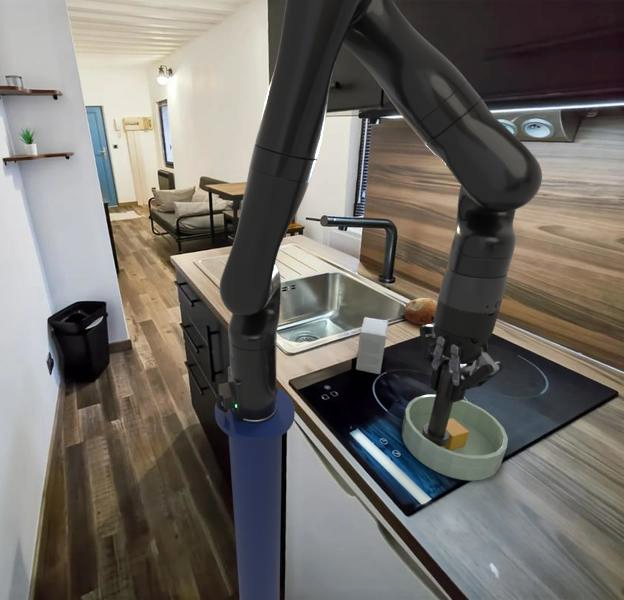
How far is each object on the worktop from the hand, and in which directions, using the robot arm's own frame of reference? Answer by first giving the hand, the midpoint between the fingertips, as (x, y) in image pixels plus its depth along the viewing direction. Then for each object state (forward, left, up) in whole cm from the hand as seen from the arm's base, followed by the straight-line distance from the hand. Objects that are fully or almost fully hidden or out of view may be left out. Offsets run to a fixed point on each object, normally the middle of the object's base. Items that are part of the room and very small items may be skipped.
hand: (445, 394), depth 59 cm
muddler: (0, 0, -10) cm, 10 cm away
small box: (+6, +26, -13) cm, 30 cm away
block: (+4, 0, -12) cm, 12 cm away
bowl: (+4, 0, -12) cm, 13 cm away
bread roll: (+34, +40, -13) cm, 54 cm away
